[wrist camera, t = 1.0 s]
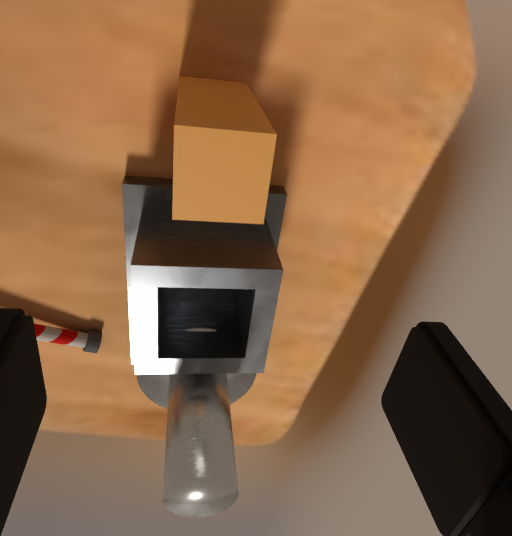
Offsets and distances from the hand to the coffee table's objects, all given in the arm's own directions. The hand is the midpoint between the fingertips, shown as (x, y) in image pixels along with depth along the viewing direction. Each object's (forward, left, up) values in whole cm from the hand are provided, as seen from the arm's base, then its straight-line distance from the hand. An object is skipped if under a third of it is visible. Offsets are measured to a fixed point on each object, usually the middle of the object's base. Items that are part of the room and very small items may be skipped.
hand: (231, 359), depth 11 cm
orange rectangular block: (0, 0, -23) cm, 23 cm away
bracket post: (+15, 0, -23) cm, 27 cm away
